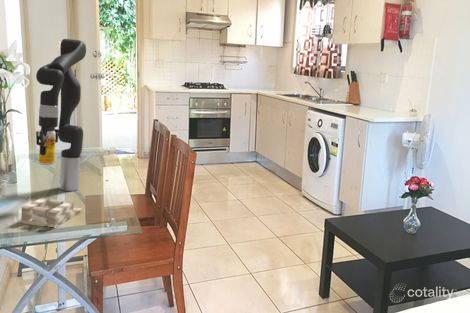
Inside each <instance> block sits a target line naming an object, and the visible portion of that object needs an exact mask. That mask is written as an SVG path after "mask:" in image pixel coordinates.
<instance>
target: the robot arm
mask: <svg viewBox="0 0 470 313" xmlns="http://www.w3.org/2000/svg"><path fill="white" fill-rule="evenodd" d="M59 51H60V55H59V56H56V57H55V58H54V59H53V60H52V61H51V62H50V63H47V64H45V65H43V66H41V67H39V69H38V70H37V71H36V75H35V76H36V81H37V83H39V84H40V85H45V86H51V88H50V89H49V90H42V91H41V92H40V99H39V100H40V102H39V109H38V126H40V131H36V132H35V138H36V145H37V146H39V150H40V155H45V154H46V147H45V146H46V143H47V142H48V136H47V138H46V139H43V136H44V135H45V137H46V135H47V131H53V130H55V133H56V134H55V144H56V143H58V141H60V142H62V143H67V144H70V147H69V148H66V149H63V150H61V153H60V154H61V155H60V175H59V176H60V178H59V190H61V191H65V192H74V191H78V190H79V189H80V178H81V176H80V175H81V156H82V150H83V141H84V130H83V127H81V126H78V125H72V124H71V120H72V119H71V117H72V115H73V113H74V111H75V109H76V108H77V107H78V105H79V104H80V102H81V96H82V93H81V91H82V90H81V89H82V88H81V84H80V82H79V80H78V78H77V76H76V74H74V72H73V69H72V66H74V65H76V64H78V63H79V62H80V61H82V60H83V59H84V58H85V56H87V55H86V54H87V46H86V44H85V42H84V41H82V40H78V39H71V38H63V39H62V40H61V41H60V48H59ZM59 96H60V112H59ZM57 127H58V129H57ZM43 133H44V135H43ZM43 141H44V143H43Z"/></svg>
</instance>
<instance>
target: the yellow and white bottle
mask: <svg viewBox="0 0 470 313" xmlns="http://www.w3.org/2000/svg"><path fill="white" fill-rule="evenodd" d="M55 134H56V133H55V130H53V131H47V135H46V137H45V135H44V133H43V135H44V136H43V139H46V138H47V136H48V142H47V143H46V146H45V147H46V154H45V155H40V149H39V155H38V156H39V157H38V163H39V164H40V165H43V166H51V165H53V164H54V163H55V152H56V143H55V140H56V139H55V138H56V137H55ZM43 143H44V141H43Z"/></svg>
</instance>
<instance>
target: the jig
mask: <svg viewBox="0 0 470 313" xmlns="http://www.w3.org/2000/svg"><path fill="white" fill-rule="evenodd" d="M74 206H75V205H74V202H71V201H66V202H65V201H64V200H58V199H50V198H44V197H42V198H39V199H37V200H35V201H32V202H30V203H28V204H26V205H24V206H21V221H20V223H21V224H25V225H31V226H37V227H43V226H49V227H55V226H57V225H60V224H61V225H63V224H64V223H66V222H68V221H70V220H71V219H72V218H74V217H76V216H77V215H79V214H81V213H82V212H83V208H81V207H74ZM62 223H63V224H62ZM61 225H60V226H61ZM49 227H48V228H49Z"/></svg>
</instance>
